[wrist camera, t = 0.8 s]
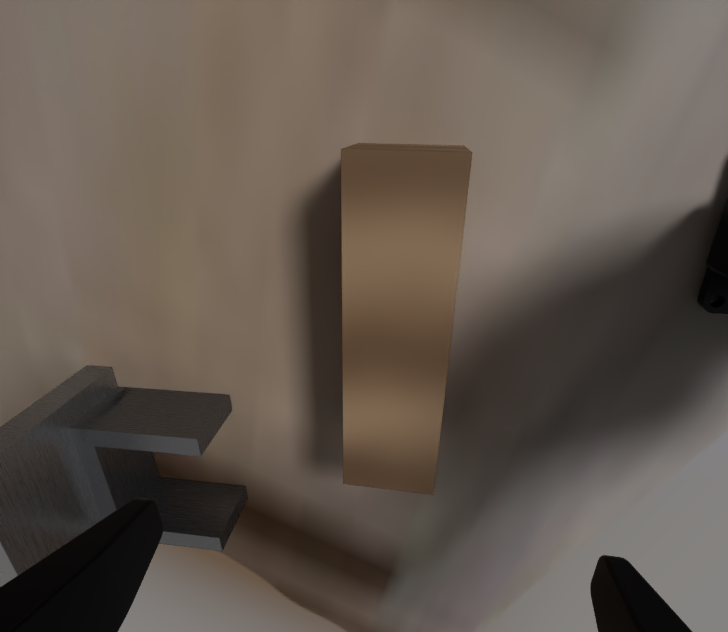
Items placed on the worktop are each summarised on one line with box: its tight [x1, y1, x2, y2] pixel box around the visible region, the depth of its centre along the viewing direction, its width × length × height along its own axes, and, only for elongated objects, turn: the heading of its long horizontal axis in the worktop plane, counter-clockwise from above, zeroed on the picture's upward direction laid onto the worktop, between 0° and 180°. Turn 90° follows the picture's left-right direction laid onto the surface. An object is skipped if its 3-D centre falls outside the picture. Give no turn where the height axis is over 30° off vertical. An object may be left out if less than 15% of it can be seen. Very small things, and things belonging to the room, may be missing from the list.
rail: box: [341, 143, 472, 495], centre depth 18 cm, size 14×4×4 cm, turn 179°
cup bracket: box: [0, 366, 248, 587], centre depth 21 cm, size 8×10×8 cm
